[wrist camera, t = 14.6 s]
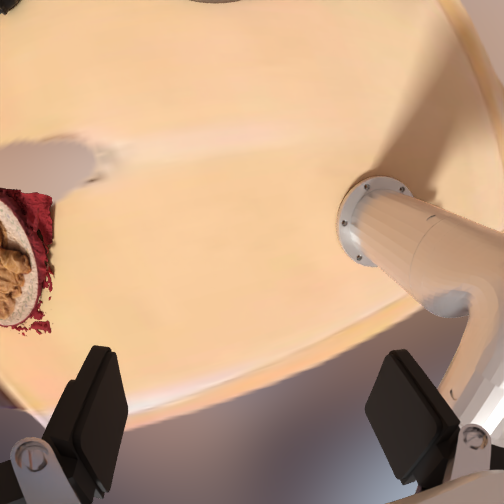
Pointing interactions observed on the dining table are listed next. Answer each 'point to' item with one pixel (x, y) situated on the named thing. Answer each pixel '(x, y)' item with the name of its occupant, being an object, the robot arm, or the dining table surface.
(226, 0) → the carrier plate
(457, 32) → the dining table surface
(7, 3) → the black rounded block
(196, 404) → the dining table surface
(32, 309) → the plate with food
